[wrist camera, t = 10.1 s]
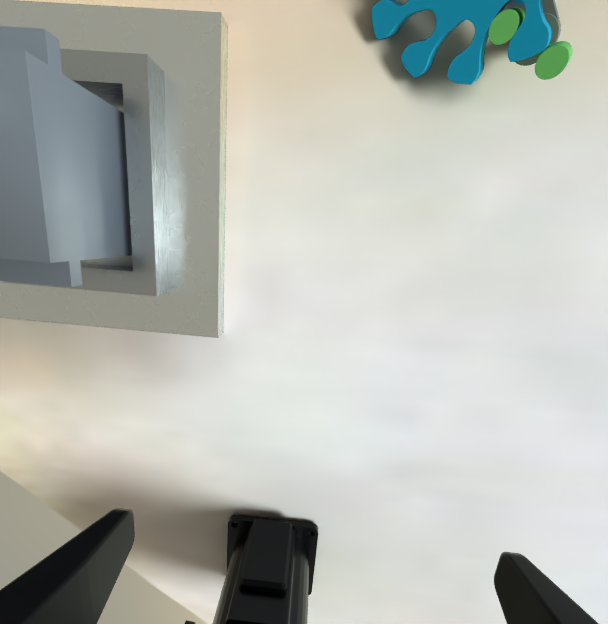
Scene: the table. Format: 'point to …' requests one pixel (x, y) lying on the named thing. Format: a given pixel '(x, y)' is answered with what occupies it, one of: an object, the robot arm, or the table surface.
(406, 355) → the table surface
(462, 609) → the table surface
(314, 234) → the table surface
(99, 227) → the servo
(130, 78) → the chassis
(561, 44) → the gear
